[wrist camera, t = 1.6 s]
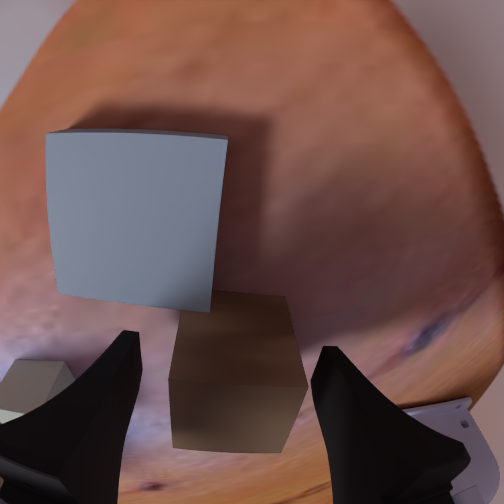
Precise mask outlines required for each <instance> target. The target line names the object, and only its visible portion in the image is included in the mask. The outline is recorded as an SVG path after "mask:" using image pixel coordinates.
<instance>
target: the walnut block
mask: <svg viewBox="0 0 504 504" xmlns="http://www.w3.org/2000/svg"><path fill="white" fill-rule="evenodd" d="M168 381H169V401H170V416H171V430H172V442H173V448H178V449H188V450H198V451H211V452H229V453H281V452H282V450H283V447H284V445H285V443H286V441H287V438H288V436H289V434H290V431H291V429H292V427H293V424H294V422H295V420H296V417H297V415H298V412H299V410H300V407H301V405H302V402H303V400H304V397H305V395H306V392H307V390H308V383H307V379H306V375H305V371H304V367H303V364H302V360H301V356H300V352H299V348H298V344H297V341H296V337H295V333H294V329H293V326H292V322H291V318H290V314H289V311H288V307H287V303H286V299H285V296H272V295H260V294H248V293H237V292H226V291H215V290H212V293H211V304H210V313H207V312H197V311H187V310H182V311H181V316H180V320H179V325H178V330H177V335H176V341H175V346H174V351H173V356H172V362H171V367H170V373H169V378H168Z"/></svg>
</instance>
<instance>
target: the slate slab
mask: <svg viewBox="0 0 504 504" xmlns="http://www.w3.org/2000/svg"><path fill="white" fill-rule="evenodd" d="M227 144H228V136H226V135H216V134H206V133H194V132H181V131H165V130H146V129H108V128H85V129H64V130H59V131H55V132H50V133H46V191H47V208H48V220H49V231H50V240H51V249H52V256H53V263H54V270H55V276H56V282H57V288H58V293H59V294H65V295H71V296H77V297H84V298H91V299H97V300H104V301H111V302H119V303H126V304H134V305H142V306H150V307H159V308H168V309H177V310H187V311H197V312H207V313H210V304H211V293H212V282H213V271H214V260H215V250H216V240H217V230H218V221H219V211H220V202H221V193H222V185H223V176H224V168H225V160H226V151H227Z"/></svg>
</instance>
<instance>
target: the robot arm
mask: <svg viewBox="0 0 504 504" xmlns="http://www.w3.org/2000/svg"><path fill="white" fill-rule="evenodd" d="M141 375H142V359H141V349H140V338H139V332H134V331H127V330H123V331H122V332H121V333H120V334H119V336H118V337H117V338H116V339H115V340H114V341H113V343H112V344H111V345H110V346H109V347H108V348H107V349H106V350H105V352H104V353H103V354H102V355H101V356H100V357H99V358H98V359H97V360H96V361H95V362H94V363H93V364H92V365H91V366H90V367H89V368H88V369H87V370H86V371H85V372H84V373H83V374H82V375H81V376H80V377H79V378H77V379H76V380H75V381H74V382H73V383H72V384H70V385H69V386H68V387H67V388H65V389H64V390H63V391H61V392H60V393H59V394H57V395H56V396H54V397H53V398H52V399H50V400H49V401H47V402H46V403H44V404H42V405H41V406H39V407H37V408H35V409H34V410H32V411H30V412H28V413H26V414H24V415H22V416H20V417H18V418H15V419H13V420H10V421H8V422H5V423H3V424H0V477H1V478H2V479H3V480H4V481H3V484H2V486H1V485H0V504H117V499H118V486H119V476H120V467H121V459H122V452H123V446H124V441H125V437H126V433H127V429H128V426H129V422H130V419H131V416H132V412H133V409H134V405H135V402H136V399H137V395H138V392H139V387H140V381H141ZM311 389H312V396H313V402H314V406H315V410H316V413H317V417H318V420H319V424H320V427H321V431H322V434H323V438H324V441H325V445H326V449H327V453H328V460H329V466H330V473H331V482H332V492H333V504H489V503H490V502H491V500H492V499H493V497H494V496H495V494H496V492H497V490H498V487H499V480H500V472H499V466H498V463H497V460H496V458H495V456H494V454H493V453H492V451H491V449H490V447H489V445H488V443H487V442H486V440H485V438H484V436H483V435H482V433H481V431H480V430H479V428H478V426H477V424H476V423H475V421H474V419H473V418H472V416H471V414H470V413H469V411H468V407H469V406H470V405H471V403H472V399H471V398H470V397H467V398H462V399H458V400H453V401H449V402H444V403H438V404H433V405H428V406H422V407H416V408H409V409H403V410H401V409H400V408H399V407H398V406H396V405H395V404H394V403H392V402H391V401H390V400H389V399H388V398H387V397H385V396H384V395H383V394H382V393H381V392H380V391H379V390H378V389H377V388H376V387H375V386H374V385H373V384H372V383H371V382H370V381H369V380H368V379H367V378H366V377H365V376H364V375H363V374H362V373H361V372H360V371H359V370H358V369H357V368H356V366H355V365H354V364H353V363H352V362H351V361H350V360H349V359H348V358H347V356H346V355H345V354H344V353H343V352H342V351H341V350H340V349H339V348H338V347H337V346H323V348H322V351H321V354H320V356H319V359H318V362H317V365H316V367H315V370H314V373H313V375H312V378H311Z"/></svg>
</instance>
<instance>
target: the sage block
mask: <svg viewBox="0 0 504 504" xmlns="http://www.w3.org/2000/svg"><path fill="white" fill-rule="evenodd" d="M75 380H76V379H75V378H74V376H73V375H72V373H71V371H70V369H69V368H68V366H67V364H66V363H65V361H34V360H15V361H14V362H13V364H12V365H11V367H10V369H9V370H8V372H7V373H6V375H5V377H4V378H3V380H2V382H1V384H0V422H1V423H2V424H3V423H5V422H8V421H10V420H13V419H15V418H18V417H20V416H22V415H24V414H26V413H28V412H30V411H32V410H34V409H35V408H37V407H39V406H41V405H42V404H44V403H46V402H47V401H49V400H50V399H52V398H53V397H54V396H56V395H57V394H59V393H60V392H61V391H63V390H64V389H65V388H67V387H68V386H69V385H70V384H72V383H73V382H74V381H75Z"/></svg>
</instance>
